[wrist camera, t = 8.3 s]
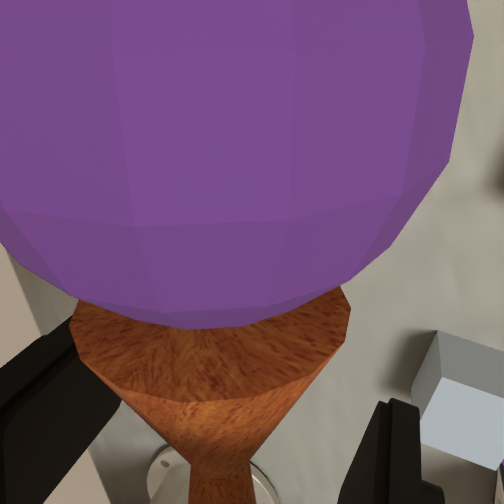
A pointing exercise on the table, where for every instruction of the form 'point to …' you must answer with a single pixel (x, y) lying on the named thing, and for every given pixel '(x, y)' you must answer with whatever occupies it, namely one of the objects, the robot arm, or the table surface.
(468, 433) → the dusty blue block
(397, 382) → the table surface
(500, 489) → the candy box
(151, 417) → the kendama
